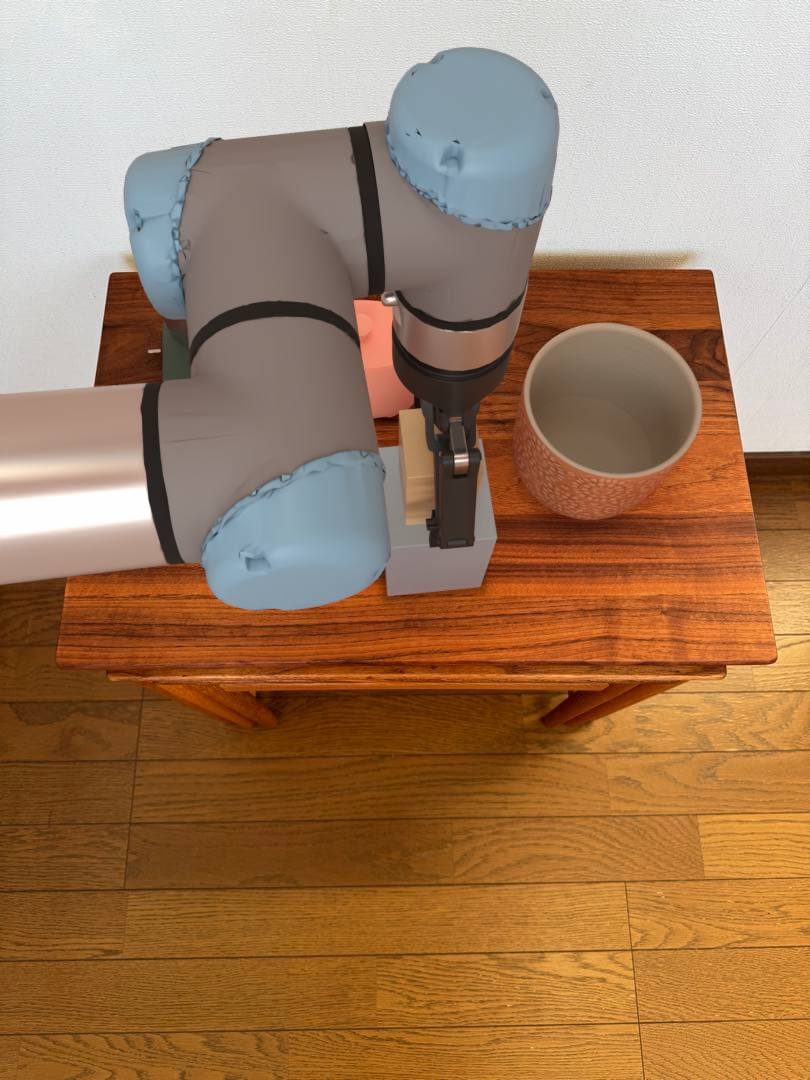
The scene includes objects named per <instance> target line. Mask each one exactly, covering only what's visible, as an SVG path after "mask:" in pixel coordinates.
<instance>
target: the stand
mask: <svg viewBox="0 0 810 1080" xmlns="http://www.w3.org/2000/svg"><path fill="white" fill-rule="evenodd" d="M479 443H480V450H481V454H482V462H483V469H484V472H483V476H482V480H481V484H480V488H479V492H478V497H477V501H476V514H475V531H474V536H475V541H474V546H473V547H462V548H452V549H440V548H439V547H433V548H430V546H429V532H430V531H427V528H426V524H416V525H405V516H404V508H403V499H402V490H401V481H400V472H399V445H394V446H382V447H378V448H379V453H380V457H381V459H382V462H383V463H384V465H385V468H386V477H385V481H384V482H383V485H384V493H385V502H386V510H387V519H388V527H389V536H390V545H391V557H390V559H389V560H388V562H387V565H386V567H385V569H384V577H385V587H386V596H387V597H393V596H395V597H396V596H404V595H415V594H424V593H425V594H427V593H435V592H446V591H456V590H467V589H475V588H476V589H477V588H481V587H482V583H483V581H484V577H485V575H486V572H487V570H488V566H489V563H490V560H491V557H492V555H493V551H494V548H495V547H496V546H495V545H496V543H497V540H498V532H497V526H496V520H495V514H494V507H493V501H492V495H491V488H490V487H491V486H490V482H489V475H488V467H487V461H486V455H485V449H484V443H483V439H482V438H479Z"/></svg>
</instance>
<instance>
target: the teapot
mask: <svg viewBox="0 0 810 1080" xmlns="http://www.w3.org/2000/svg"><path fill="white" fill-rule="evenodd" d="M353 300H354V306H355V313H356V319H357V325H358V331H359V338H360V348H361V353H362V360H363V365H364V371H365V376H366V382H367V387H368V393H369V398H370V404H371V409H372V415H373V419H378V418H393V417H395V416H397V415H399V410H408V409H411V407H412V406H414V395H413V394H412V393H411V392H410V391H409V390H408V389H406V387H405V386H404V385H403V384H402V383H401V381H400V380H399V378H398V376H397V374H396V372H395V369H394V366H393V361H392V321H393V311H392V306H390V307H387V306H384V305H383V304H382V302H381V301H380V300H368V299H353Z"/></svg>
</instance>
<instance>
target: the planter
mask: <svg viewBox="0 0 810 1080" xmlns="http://www.w3.org/2000/svg"><path fill="white" fill-rule="evenodd" d="M702 420H703V398H702V392H701V389H700V386H699V383H698V380H697V378H696V376H695V374H694V371H693V370H692V369H691V367H690V365H689V364H688V363H687V361H686V360H685V359H684V358H683V356H681V354H680V353H679V352H678V351H677V350H676V349H675V348H673V346H672V345H670V344H669V343H667V342H666V341H664V340H663V339H661V338H660V337H658V336H656V335H655V334H652V333H650V332H649V331H646V330H643V329H641V328H639V327H635V326H631V325H627V324H622V323H616V322H615V323H614V322H595V323H594V322H593V323H587V324H581V325H579V326H575V327H572V328H570V329H568V330H564V331H563V332H561V333H559V334H558V335H557V334H556V336H554V337H552V338H551V339H550V340H549V341H547V343H545V344H544V345H543V346H542V347H541V348H540V349H539V350H538V352H537V353H536V354H535V355H534V357H533V358H532V360H531V362H530V364H529V366H528V369H527V371H526V374H525V377H524V380H523V384H522V388H521V391H520V395H519V402H518V405H517V410H516V414H515V420H514V425H513V432H512V454H513V455H512V456H513V462H514V464H515V467H516V471H517V473H518V476H519V478H520V480H521V482H522V484H523V486H525V488H526V489H527V491H528V492H529V493H530V494H531V495H532V496H533V497H534V498H535V499H536V500H537V501H538V502H539V503H540V504H542V505H543V506H544V507H546V508H548V509H549V510H551V511H552V512H555V513H557V514H559V515H561V516H564V517H568V518H572V519H577V520H582V521H583V520H584V521H596V520H604V519H610V518H613V517H616V516H619V515H621V514H623V513H624V514H625V513H626V512H628V511H630V510H631V509H632V508H634V507H636V506H638V505H639V504H640V503H641V502H643V501H644V500H645V499H646V498H648V496H649V495H651V493H653V492H654V491H655V489H657V488H658V486H659V485H660V484H661V483H662V482H663V481H664V480H665V479H666V477H667V476H668V475H669V474H670V472H671V471H672V470H673V469H674V468H675V467H676V466H677V464H678V463H679V462H680V461H681V460H682V458H683V457H684V456H685V455H686V453H687V452H688V451H689V449H690V448H691V447H692V445H693V444H694V442H695V440H696V438H697V436H698V433H699V431H700V428H701V425H702Z"/></svg>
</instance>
